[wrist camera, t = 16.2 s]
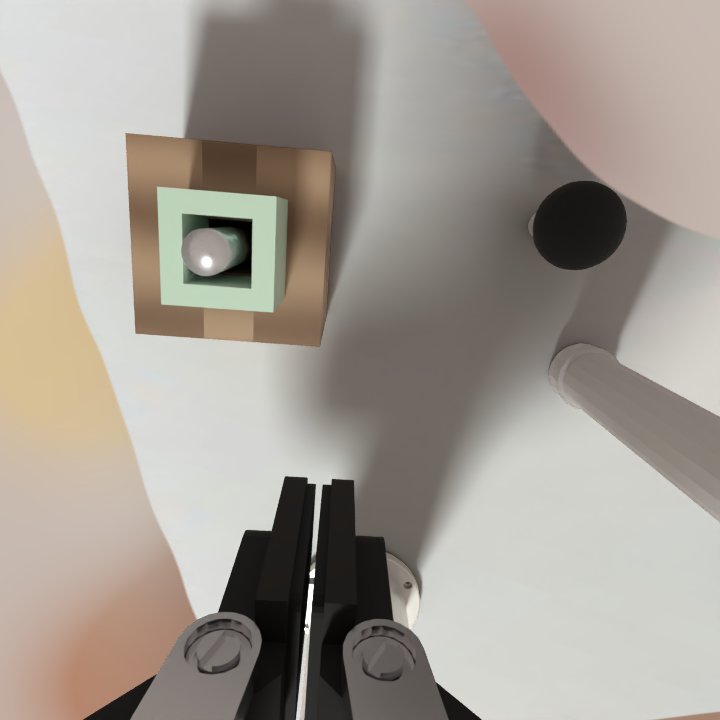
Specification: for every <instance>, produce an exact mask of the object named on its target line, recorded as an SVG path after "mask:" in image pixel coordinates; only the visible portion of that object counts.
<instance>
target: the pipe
mask: <svg viewBox="0 0 720 720" xmlns="http://www.w3.org/2000/svg"><path fill="white" fill-rule="evenodd" d="M549 378H550V384H551V386H552V387H553V389H554V390H555V391H556V393H557V394H559V395H560V397H561V398H562V399H563V401H564V402H566V403H567V404H569V405H571V406H572V407H574V408H577V409H582V410H583V411H584V412H586V413H587V414H588V415H589V416H590V417H592V418H593V419H594V420H595V421H597V422H598V423H599V424H600V425H601V426H603V427H604V428H605V429H606V430H608V431H609V432H610V433H611V434H612V435H614V436H615V437H616V438H617V439H619V440H620V441H621V442H622V443H623V444H625V445H626V446H627V447H628V448H630V449H631V450H632V451H633V452H634V453H636V454H637V455H638V456H639V457H641V458H642V459H643V460H644V461H645V462H647V463H648V464H649V465H650V466H652V467H653V468H654V469H655V470H656V471H658V472H659V473H660V474H661V475H663V476H664V477H665V478H666V479H667V480H669V481H670V482H671V483H672V484H674V485H675V486H676V487H677V488H678V489H680V490H681V491H682V492H683V493H685V494H686V495H687V496H688V497H690V498H691V499H692V500H693V501H694V502H696V503H697V504H698V505H699V506H701V507H702V508H703V509H704V510H705V511H707V512H708V513H709V514H710V515H712V516H713V517H714V518H715V519H716V520H718V521H719V522H720V417H719V416H717V415H715V414H713V413H711V412H710V411H708V410H706V409H704V408H702V407H700V406H698V405H696V404H695V403H693V402H691V401H689V400H687V399H685V398H683V397H681V396H680V395H678V394H676V393H674V392H672V391H670V390H668V389H667V388H665V387H663V386H661V385H659V384H657V383H655V382H653V381H652V380H650V379H648V378H646V377H644V376H642V375H640V374H638V373H637V372H635V371H633V370H631V369H629V368H627V367H625V366H623V365H622V364H620V363H619V362H618V360H617V359H616V357H615V356H614V355H613V354H611V353H609V352H608V351H606V350H604V349H602V348H597V347H595V346H593V345H591V344H582V343H578V344H575V345H571V346H567V347H566V348H565V349H563V350H562V351H560V352H559V353H558V354H557V355H556V357H555V358H554V359H553V361H552V362H551V366H550V370H549Z"/></svg>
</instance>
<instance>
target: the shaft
mask: <svg viewBox="0 0 720 720" xmlns="http://www.w3.org/2000/svg"><path fill="white" fill-rule="evenodd" d="M181 254H182V258H183V261H184V263H185V264H186V266H187V267H188V268H189V269H190V270H191V271H192V272H194V273H196V274H198V275H201V276H212V275H215V274H217V273H220V272H222V271H224V270H227V269H229V268H231V267H234V266H236V265H238V264H241V263H243V262H246V261H248V260H250V259H252V225H245V226H231V227H218V228H204V229H197V230H194V231H192V232H190V233H189V234H188V235H187V236H186V237H185V239H184V240H183V243H182V247H181Z"/></svg>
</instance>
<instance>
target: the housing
mask: <svg viewBox="0 0 720 720" xmlns="http://www.w3.org/2000/svg"><path fill="white" fill-rule="evenodd" d="M126 151H127V171H128V191H129V211H130V231H131V251H132V271H133V291H134V311H135V331H136V334H148V335H163V336H177V337H191V338H205V339H219V340H233V341H247V342H261V343H275V344H290V345H304V346H318V347H320V344H321V340H322V335H323V330H324V326H325V321H326V314H327V298H328V282H329V266H330V249H331V233H332V217H333V201H334V184H335V164H334V160H333V156H332V152H330V151H319V150H308V149H296V148H285V147H274V146H263V145H252V144H241V143H229V142H218V141H207V140H196V139H185V138H173V137H162V136H151V135H140V134H129V133H126ZM157 187H167V188H179V189H191V190H203V191H215V192H228V193H240V194H252V195H264V196H276V197H280V198H283V199H286V200H288V218H287V247H286V275H285V298H284V299H283V301H282V302H281V303H280V305H279V306H278V307H277V308H276V310H275V311H274V312H259V311H245V310H231V309H218V308H204V307H190V306H176V305H162V304H161V283H160V255H159V227H158V200H157ZM238 221H246V222H252V221H253V219H245V218H233V217H220V216H209V228H218V227H231V226H238ZM217 274H222V275H236V276H249V277H252V259H250V260H248V261H246V262H243V263H241V264H238V265H236V266H234V267H231V268H229V269H227V270H224V271H222V272H220V273H217Z"/></svg>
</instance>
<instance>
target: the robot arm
mask: <svg viewBox="0 0 720 720" xmlns="http://www.w3.org/2000/svg"><path fill="white" fill-rule="evenodd" d="M307 481H308V479H307V478H305V477H288V476H285V478H284V483H283V487H282V491H281V495H280V499H279V503H278V507H277V511H276V516H275V520H274V524H273V528H272V531H258V530H246V531H245V533H244V535H243V538H242V541H241V544H240V547H239V550H238V553H237V556H236V559H235V563H234V566H233V569H232V572H231V575H230V578H229V581H228V584H227V587H226V590H225V593H224V596H223V599H222V602H221V605H220V608H219V611H218V613H214V614H209V615H207V616H205V617H202V618H200V619H198V620H196V621H195V622H194V623H192V624H191V625H190V626H188V627H187V628H186V629H185V630H184V632H183V633H182V634H181V635H180V637H179V638H178V640H177V641H176V643H175V645H174V646H173V648H172V650H171V651H170V653H169V655H168V657H167V658H166V660H165V662H164V663H163V665H162V667H161V668H160V670H159V672H158V673H157V674H156V675H155V676H153V677H151V678H150V679H148V680H146V681H145V682H143V683H142V684H140V685H138V686H137V687H135V688H134V689H132V690H130V691H129V692H127V693H125V694H124V695H122V696H121V697H119V698H118V699H116V700H114V701H112V702H111V703H109V704H108V705H106V706H104V707H103V708H101V709H100V710H98V711H96V712H95V713H93V714H91V715H90V716H88V717H87V718H85V719H84V720H296V712H297V702H298V693H299V683H300V673H301V664H302V654H303V644H304V635H305V632H306V633H307V634H308V639H307V649H306V660H305V670H304V681H303V691H302V702H301V712H300V720H481V719H480V718H479V717H478V716H477V715H475V714H474V713H473V712H472V711H470V710H469V709H468V708H467V707H466V706H464V705H463V704H462V703H461V702H459V701H458V700H457V699H456V698H455V697H453V696H452V695H451V694H450V693H449V692H447V691H446V690H445V689H444V688H442V687H441V686H440V685H439V684H438V683H436V682H435V679H434V676H433V673H432V670H431V668H430V665H429V662H428V659H427V656H426V653H425V650H424V648H423V646H422V644H421V642H420V640H419V638H418V637H417V636H416V635H415V634H414V633H413V632H412V631H411V628H412V627H413V625H414V623H415V621H416V619H417V618H418V614H419V610H420V595H419V589H418V585H417V582H416V579H415V577H414V576H413V574H412V572H411V571H410V569H409V568H408V567H407V566H406V565H405V564H404V563H403V562H402V561H400V560H399V559H398V558H396V557H395V556H393V555H391V554H389V553H387V552H386V550H385V542H384V538H383V537H371V536H355V504H354V480H339V479H332V485H323V487H322V498H321V509H320V520H319V530H318V541H317V552H316V561H315V562H314V563H313V564H312V565H311V554H312V538H313V522H314V506H315V489H316V484H307Z"/></svg>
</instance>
